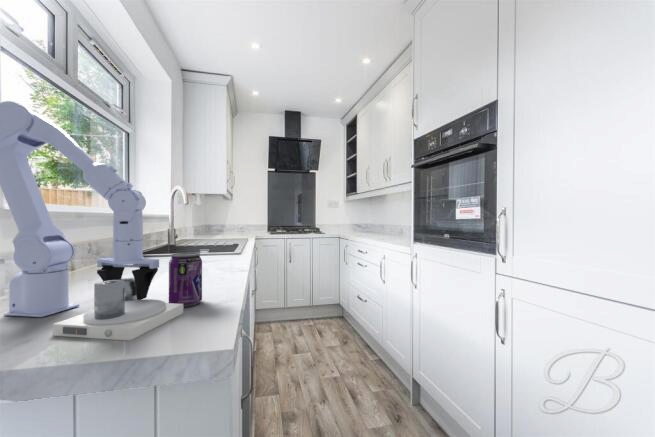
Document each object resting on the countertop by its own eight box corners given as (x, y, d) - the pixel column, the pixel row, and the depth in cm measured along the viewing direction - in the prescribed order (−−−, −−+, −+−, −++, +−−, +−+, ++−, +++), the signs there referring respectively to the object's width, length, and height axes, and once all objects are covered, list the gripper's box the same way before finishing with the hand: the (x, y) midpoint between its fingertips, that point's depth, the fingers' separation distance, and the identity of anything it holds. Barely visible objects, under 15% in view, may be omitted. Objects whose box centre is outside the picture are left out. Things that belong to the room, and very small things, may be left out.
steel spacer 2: (111, 307, 65) (111, 281, 65) (127, 301, 70) (127, 277, 70) (128, 308, 65) (128, 281, 65) (143, 302, 69) (143, 277, 69)
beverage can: (188, 309, 64) (188, 256, 64) (161, 307, 65) (161, 255, 65) (208, 300, 71) (208, 252, 71) (183, 299, 72) (183, 251, 72)
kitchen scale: (50, 336, 49) (50, 320, 49) (121, 309, 64) (121, 297, 64) (128, 341, 47) (128, 324, 47) (183, 313, 62) (183, 300, 62)
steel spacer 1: (87, 319, 50) (87, 284, 50) (109, 311, 54) (110, 279, 54) (109, 320, 49) (110, 285, 49) (130, 312, 54) (130, 279, 54)
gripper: (168, 239, 70) (168, 294, 70) (115, 238, 72) (115, 292, 72) (146, 241, 63) (146, 303, 63) (88, 241, 65) (88, 300, 65)
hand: (128, 298), depth 67 cm, fingers open, 7 cm apart
